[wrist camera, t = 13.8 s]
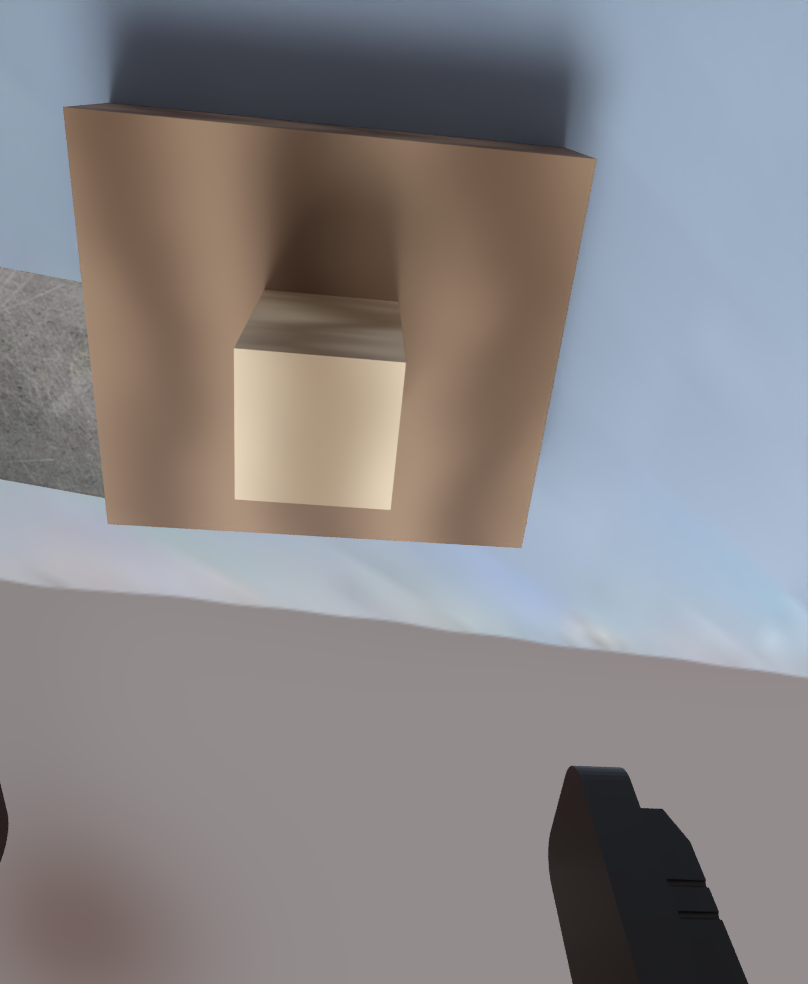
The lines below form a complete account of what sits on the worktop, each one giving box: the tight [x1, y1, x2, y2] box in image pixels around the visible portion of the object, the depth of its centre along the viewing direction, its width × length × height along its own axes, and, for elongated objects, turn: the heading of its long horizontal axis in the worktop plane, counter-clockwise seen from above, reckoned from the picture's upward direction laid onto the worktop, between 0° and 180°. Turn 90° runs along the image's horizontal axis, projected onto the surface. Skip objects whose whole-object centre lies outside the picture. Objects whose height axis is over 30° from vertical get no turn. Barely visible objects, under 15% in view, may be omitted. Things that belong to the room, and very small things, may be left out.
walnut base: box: [63, 103, 597, 548], centre depth 32 cm, size 18×16×5 cm
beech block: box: [234, 290, 406, 510], centre depth 26 cm, size 5×5×7 cm
